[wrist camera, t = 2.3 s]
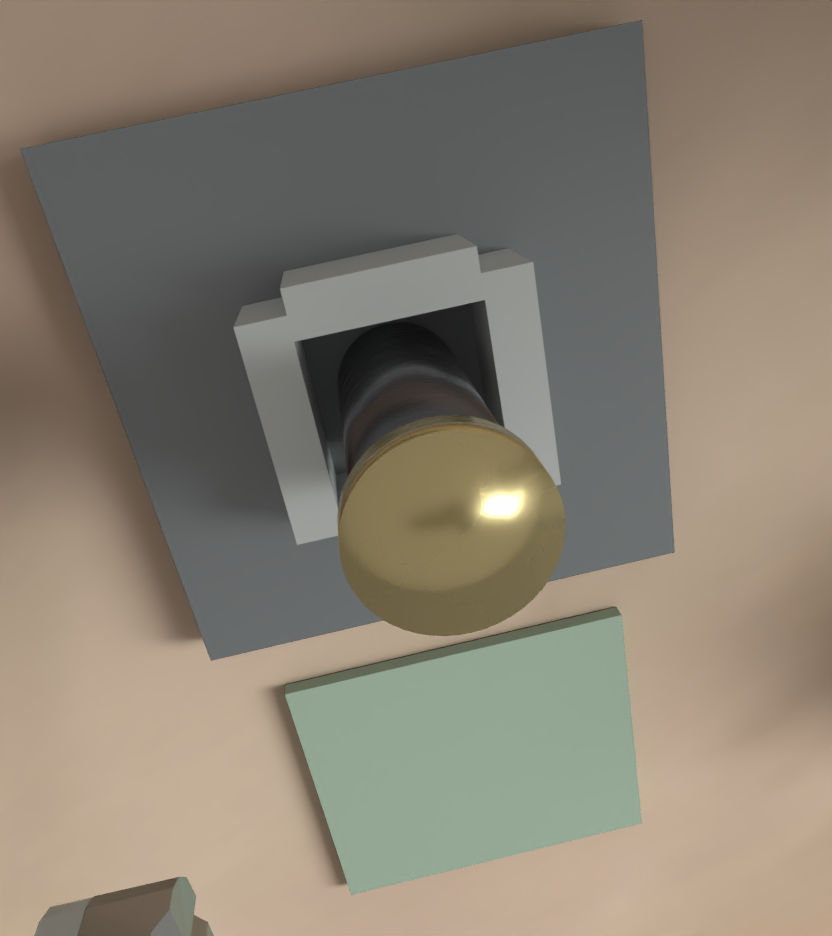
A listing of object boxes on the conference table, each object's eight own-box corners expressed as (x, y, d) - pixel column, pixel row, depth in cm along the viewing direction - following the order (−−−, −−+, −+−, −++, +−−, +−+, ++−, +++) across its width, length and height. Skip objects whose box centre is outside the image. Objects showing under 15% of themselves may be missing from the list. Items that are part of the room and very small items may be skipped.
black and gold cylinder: (454, 298, 25) (551, 408, 15) (476, 430, 27) (576, 607, 16) (313, 329, 24) (314, 462, 14) (345, 460, 26) (366, 657, 16)
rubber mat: (616, 606, 32) (621, 615, 31) (637, 813, 37) (641, 823, 36) (285, 685, 32) (284, 694, 31) (350, 883, 36) (351, 894, 36)
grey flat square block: (622, 26, 24) (688, 3, 19) (658, 534, 31) (711, 594, 27) (37, 148, 23) (-23, 150, 19) (215, 637, 30) (200, 715, 26)
